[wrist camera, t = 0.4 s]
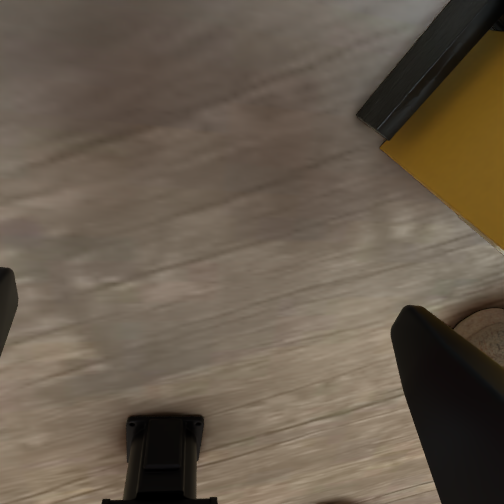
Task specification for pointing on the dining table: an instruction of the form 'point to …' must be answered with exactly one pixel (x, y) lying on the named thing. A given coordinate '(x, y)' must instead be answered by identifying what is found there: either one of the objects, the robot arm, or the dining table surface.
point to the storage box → (462, 140)
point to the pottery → (485, 332)
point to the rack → (430, 62)
